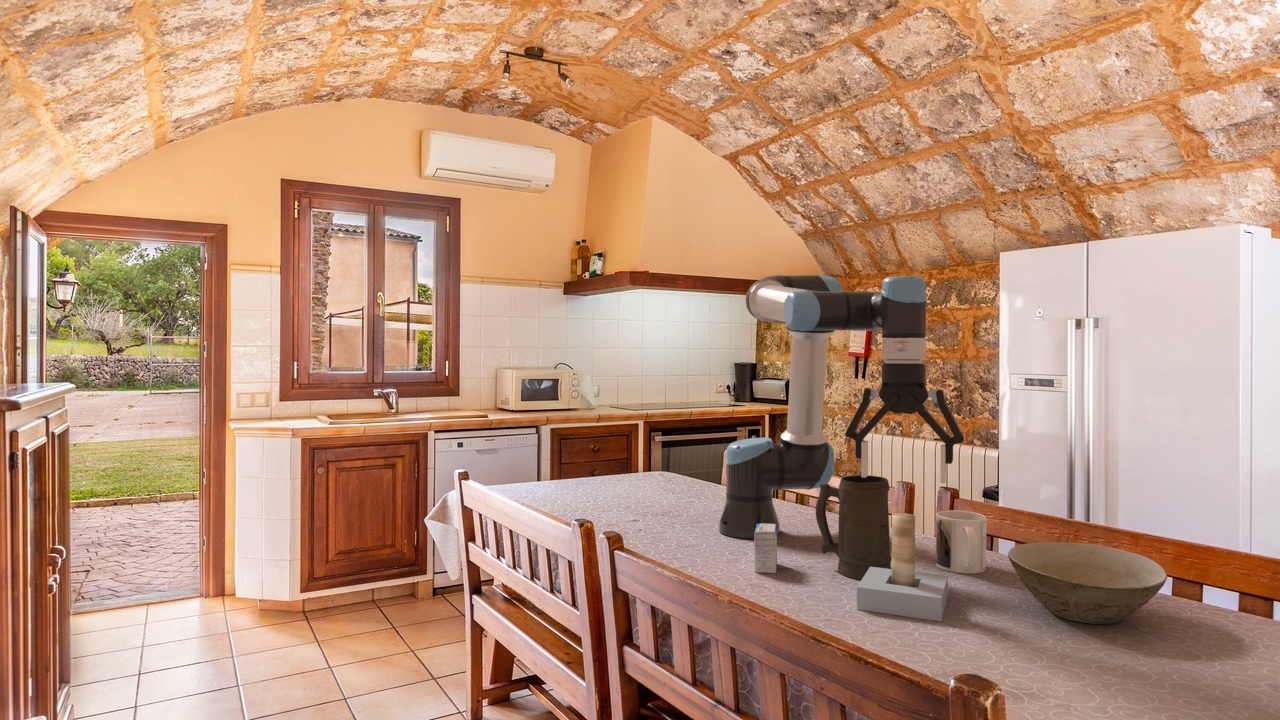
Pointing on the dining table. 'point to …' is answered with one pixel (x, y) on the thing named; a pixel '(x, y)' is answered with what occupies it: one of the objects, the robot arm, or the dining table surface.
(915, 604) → the socket block
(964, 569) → the mug
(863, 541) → the beer stein
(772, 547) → the medicine box
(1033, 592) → the bowl
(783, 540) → the dining table surface
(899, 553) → the beech peg
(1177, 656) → the dining table surface
